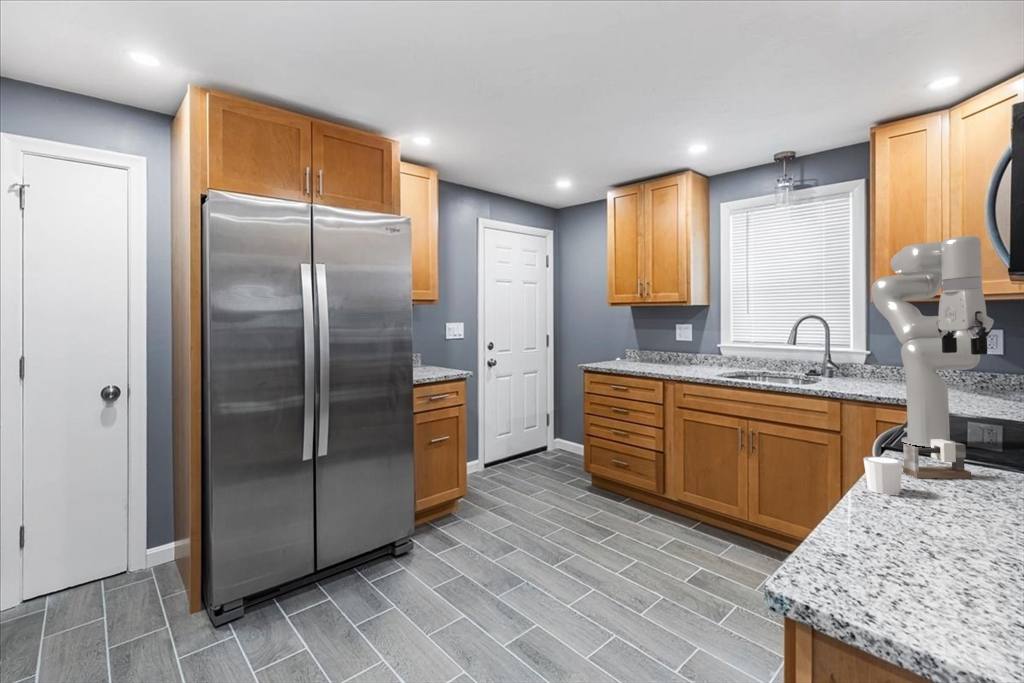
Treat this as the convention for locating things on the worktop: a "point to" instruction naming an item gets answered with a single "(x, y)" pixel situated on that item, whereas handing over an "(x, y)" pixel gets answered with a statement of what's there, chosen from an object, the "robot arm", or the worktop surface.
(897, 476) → the shot glass
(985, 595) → the worktop surface
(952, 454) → the sleeve
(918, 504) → the worktop surface
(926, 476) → the wooden stand
